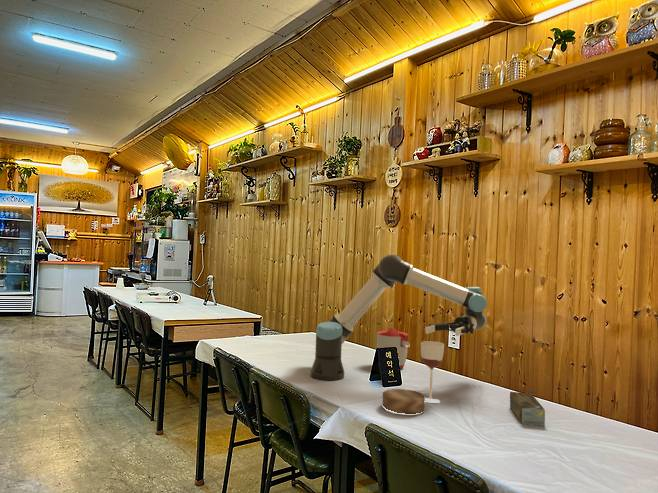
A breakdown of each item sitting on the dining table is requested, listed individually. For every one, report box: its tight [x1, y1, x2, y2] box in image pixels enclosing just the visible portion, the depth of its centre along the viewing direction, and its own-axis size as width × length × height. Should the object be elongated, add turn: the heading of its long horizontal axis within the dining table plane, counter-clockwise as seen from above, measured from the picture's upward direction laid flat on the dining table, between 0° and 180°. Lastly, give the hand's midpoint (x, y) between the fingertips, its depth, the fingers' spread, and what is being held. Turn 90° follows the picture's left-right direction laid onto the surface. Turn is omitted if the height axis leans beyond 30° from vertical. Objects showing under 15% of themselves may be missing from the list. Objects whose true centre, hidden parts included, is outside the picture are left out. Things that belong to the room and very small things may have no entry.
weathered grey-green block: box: [509, 391, 546, 427], centre depth 174 cm, size 8×19×7 cm, turn 171°
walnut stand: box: [381, 388, 426, 414], centre depth 176 cm, size 15×15×5 cm
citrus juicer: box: [376, 326, 411, 370], centre depth 239 cm, size 16×17×20 cm
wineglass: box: [420, 340, 445, 399], centre depth 188 cm, size 9×10×22 cm
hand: (440, 331), depth 198 cm, fingers open, 13 cm apart
